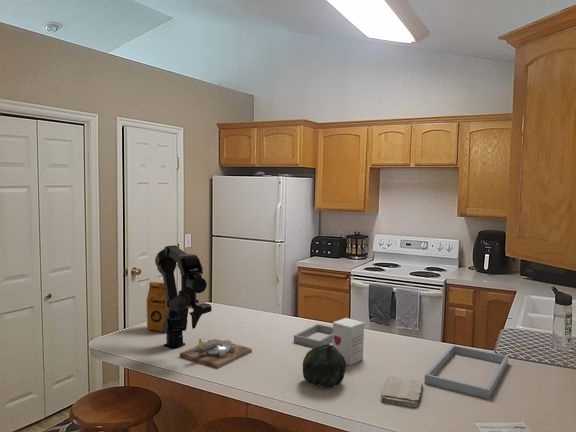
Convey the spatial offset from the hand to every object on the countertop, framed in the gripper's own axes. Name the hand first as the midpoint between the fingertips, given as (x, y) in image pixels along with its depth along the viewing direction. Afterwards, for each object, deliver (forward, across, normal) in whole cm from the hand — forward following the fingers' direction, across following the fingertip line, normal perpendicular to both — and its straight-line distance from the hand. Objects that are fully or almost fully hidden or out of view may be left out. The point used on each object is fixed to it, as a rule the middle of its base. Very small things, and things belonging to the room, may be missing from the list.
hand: (189, 327), depth 185 cm
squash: (+12, +54, +10) cm, 57 cm away
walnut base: (+12, +6, +8) cm, 16 cm away
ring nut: (+10, +6, +8) cm, 15 cm away
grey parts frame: (+12, +31, +48) cm, 58 cm away
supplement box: (+12, +52, +34) cm, 63 cm away
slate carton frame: (+12, +94, +48) cm, 106 cm away
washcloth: (+13, +80, +18) cm, 82 cm away
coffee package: (+12, -34, +17) cm, 40 cm away
